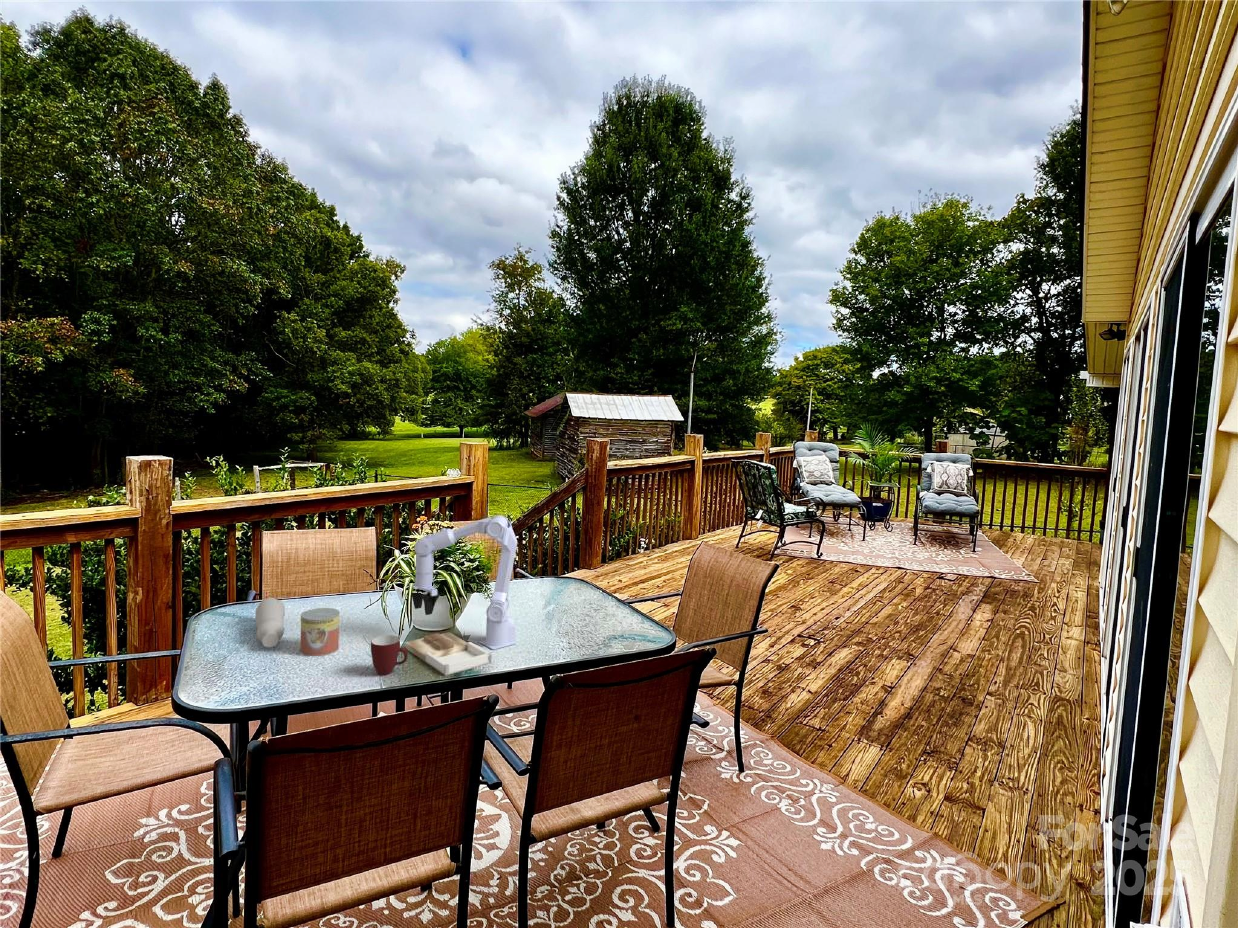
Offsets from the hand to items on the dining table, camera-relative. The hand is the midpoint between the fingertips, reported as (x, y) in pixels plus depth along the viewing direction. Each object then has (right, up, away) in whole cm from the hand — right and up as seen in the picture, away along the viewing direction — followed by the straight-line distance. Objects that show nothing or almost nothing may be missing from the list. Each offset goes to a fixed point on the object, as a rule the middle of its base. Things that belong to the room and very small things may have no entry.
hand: (423, 611), depth 214 cm
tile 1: (+5, -9, -4) cm, 11 cm away
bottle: (-52, -8, -2) cm, 52 cm away
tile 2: (+9, -10, -8) cm, 16 cm away
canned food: (-30, -10, -11) cm, 33 cm away
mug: (-3, -13, -25) cm, 28 cm away
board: (+6, -11, -5) cm, 14 cm away
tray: (+16, -13, -15) cm, 25 cm away
